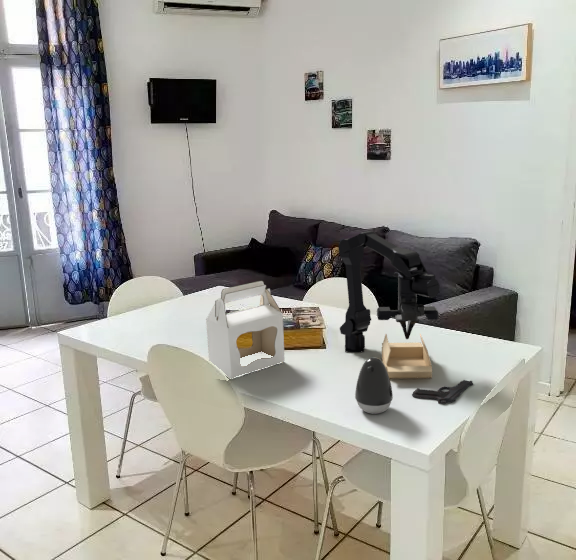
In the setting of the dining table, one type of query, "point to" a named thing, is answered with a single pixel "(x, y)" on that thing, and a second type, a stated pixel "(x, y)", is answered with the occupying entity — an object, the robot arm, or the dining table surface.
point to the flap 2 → (425, 348)
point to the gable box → (245, 330)
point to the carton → (407, 361)
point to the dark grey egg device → (373, 387)
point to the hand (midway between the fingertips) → (406, 338)
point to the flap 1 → (386, 348)
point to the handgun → (443, 392)
